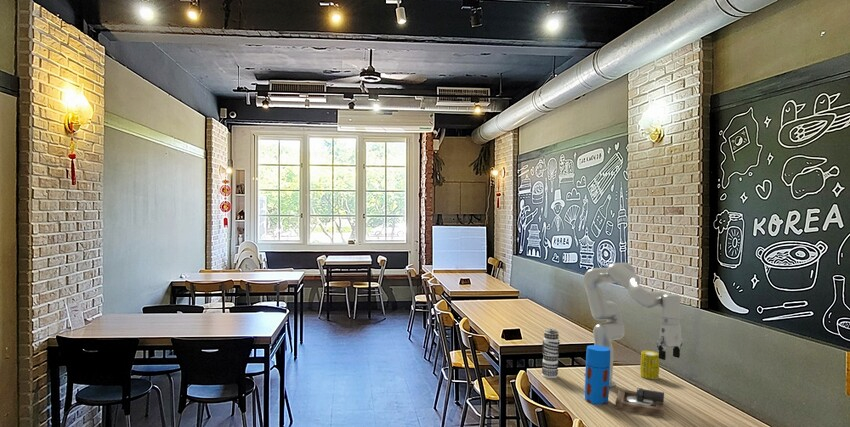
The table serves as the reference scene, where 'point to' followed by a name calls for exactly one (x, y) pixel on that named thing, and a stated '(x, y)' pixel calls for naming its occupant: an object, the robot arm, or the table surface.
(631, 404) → the wooden frame
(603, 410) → the table surface
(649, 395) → the dial
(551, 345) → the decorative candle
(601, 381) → the thermos
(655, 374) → the food
